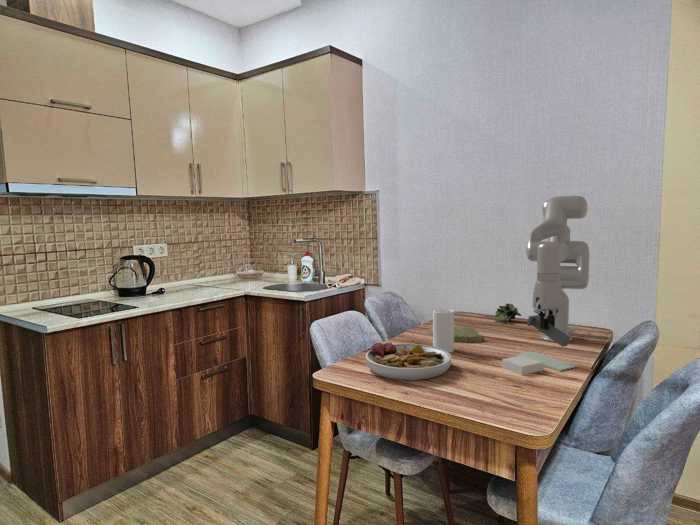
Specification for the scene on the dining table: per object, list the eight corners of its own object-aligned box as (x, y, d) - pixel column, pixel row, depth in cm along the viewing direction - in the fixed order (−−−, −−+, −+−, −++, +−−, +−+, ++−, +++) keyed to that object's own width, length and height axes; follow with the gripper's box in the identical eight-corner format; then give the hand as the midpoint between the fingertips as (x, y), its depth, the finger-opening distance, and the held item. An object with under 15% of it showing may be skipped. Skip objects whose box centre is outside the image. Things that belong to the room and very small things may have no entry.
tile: (522, 355, 165) (501, 359, 160) (543, 362, 157) (521, 366, 152) (522, 364, 165) (501, 368, 161) (543, 371, 157) (521, 376, 153)
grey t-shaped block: (570, 345, 160) (573, 336, 158) (558, 347, 157) (561, 338, 156) (538, 322, 172) (540, 314, 171) (526, 324, 170) (529, 316, 168)
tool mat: (532, 352, 178) (532, 351, 177) (578, 367, 160) (578, 365, 160) (515, 356, 174) (515, 354, 174) (560, 371, 156) (560, 369, 156)
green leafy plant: (509, 330, 235) (523, 312, 233) (508, 331, 224) (523, 312, 223) (490, 317, 238) (504, 298, 237) (489, 317, 228) (504, 298, 227)
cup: (455, 348, 186) (455, 309, 184) (451, 353, 178) (451, 313, 177) (435, 346, 189) (435, 308, 188) (430, 351, 182) (430, 312, 180)
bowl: (461, 362, 168) (461, 341, 167) (434, 389, 142) (434, 365, 141) (387, 352, 183) (387, 333, 182) (350, 375, 157) (350, 352, 156)
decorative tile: (429, 333, 213) (429, 325, 213) (472, 332, 213) (472, 325, 212) (435, 344, 195) (435, 335, 194) (483, 343, 194) (483, 335, 194)
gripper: (555, 275, 170) (554, 324, 172) (523, 278, 163) (522, 328, 165) (573, 277, 163) (571, 328, 165) (540, 280, 156) (539, 333, 158)
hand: (547, 328), depth 165 cm, fingers closed on grey t-shaped block, 2 cm apart
